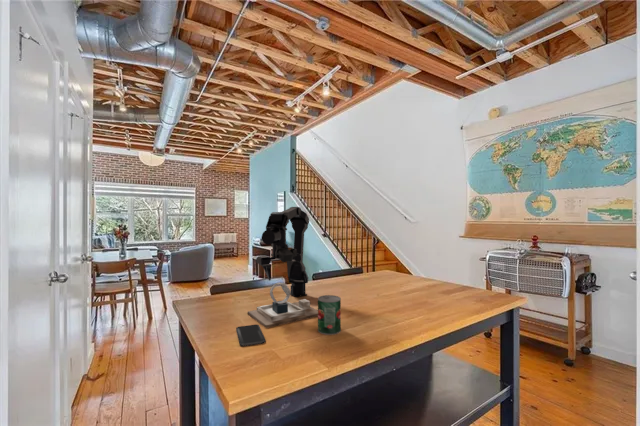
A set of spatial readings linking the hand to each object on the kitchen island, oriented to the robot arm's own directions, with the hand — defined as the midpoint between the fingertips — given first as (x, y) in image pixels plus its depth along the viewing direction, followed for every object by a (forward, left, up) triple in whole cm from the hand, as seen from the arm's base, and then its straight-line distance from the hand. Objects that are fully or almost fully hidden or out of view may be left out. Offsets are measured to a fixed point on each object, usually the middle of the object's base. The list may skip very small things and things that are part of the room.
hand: (279, 278), depth 127 cm
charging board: (+2, +8, -13) cm, 15 cm away
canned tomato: (-3, +31, -13) cm, 34 cm away
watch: (+4, +8, -11) cm, 14 cm away
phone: (+21, +20, -13) cm, 32 cm away
